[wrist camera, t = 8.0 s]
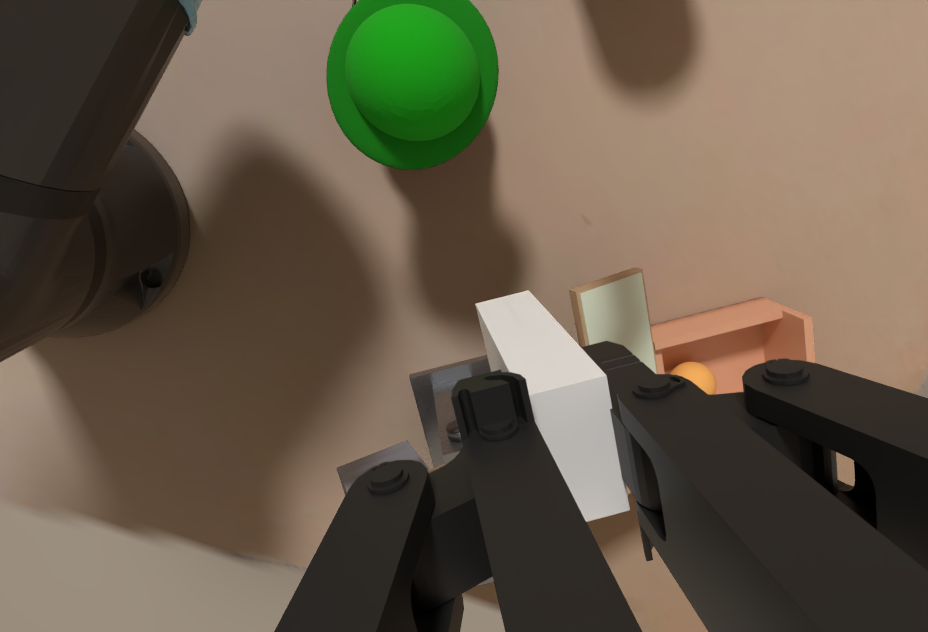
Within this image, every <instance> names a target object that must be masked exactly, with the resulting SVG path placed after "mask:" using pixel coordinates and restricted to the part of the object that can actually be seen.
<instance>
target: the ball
mask: <svg viewBox="0 0 928 632" xmlns="http://www.w3.org/2000/svg"><path fill="white" fill-rule="evenodd" d="M670 374H672V375H678V376H682V377H684V378H686V379H688V380H690V381H692V382H693V383H694V384H696V385H697V386H698V387H699V388H700V389H702V390H703V391H704V392H705V393H707V394H708V395H711V394H715V393H716V389H717V383H716V379H715V376H714V374H713V373H712V371H711V370H710V369H709V368H708V367H706V366H705V365H703V364H701V363H698V362H685V363H682V364H679V365H678V366H676V367H675V368H674V369H673V370H672V371H671V373H670Z"/></svg>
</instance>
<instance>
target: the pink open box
mask: <svg viewBox="0 0 928 632" xmlns="http://www.w3.org/2000/svg"><path fill="white" fill-rule="evenodd" d="M651 331H652V337H653V344H654V351H655V357H656V364H657V371H658V374H670V373H671V371H672V370H673V369H674V368H675V367H676V366H678V365H679V364H682V363H685V362H698V363H701V364H703V365H705V366H706V367H708V368H709V369H710V370H711V371H712V373H713V374H714V376H715V379H716V383H717V389H716V393H715V394H725V393H736V392H744V391H743V382H742V376H743V374H744V373H745V371H746V370H747V369H749V368H751V367H753V366H754V365H757V364H761V363H764V362H766V361H768V360H773V359H776V360H778V359H783V358H787V359H790V360H802V361H807V362H812V363H815V353H814V339H813V325H812V317H810V316H807V315H805V314H802V313H800V312H798V311H795V310H793V309H790V308H788V307H785V306H783V305H781V304H778V303H776V302H773V301H771V300H768V299H766V298H763V297H761V298H757V299H753V300H749V301H745V302H741V303H737V304H734V305H730V306H726V307H722V308H718V309H714V310H710V311H706V312H702V313H698V314H694V315H690V316H686V317H682V318H678V319H674V320H670V321H666V322H662V323H658V324H654V325H651Z"/></svg>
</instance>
